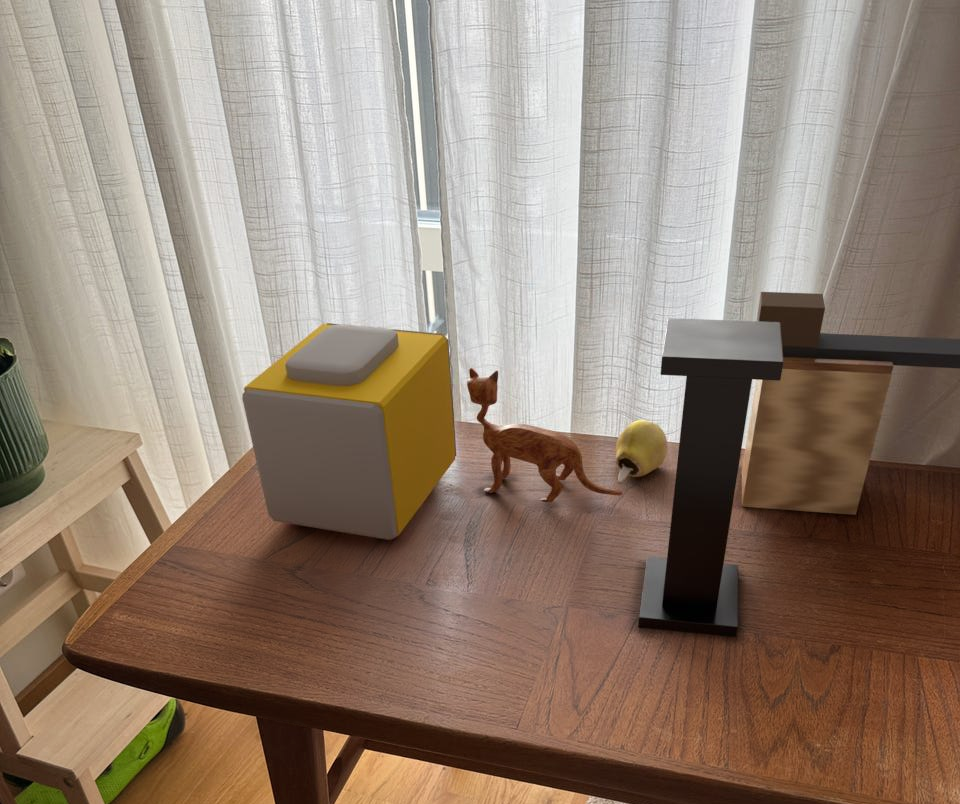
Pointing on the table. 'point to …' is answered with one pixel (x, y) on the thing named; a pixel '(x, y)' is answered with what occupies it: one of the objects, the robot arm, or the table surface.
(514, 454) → the cat figurine
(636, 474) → the fruit
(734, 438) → the shelf stand
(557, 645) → the table surface
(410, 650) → the table surface
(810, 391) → the wavy wood-grain slab
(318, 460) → the alarm clock
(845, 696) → the table surface
